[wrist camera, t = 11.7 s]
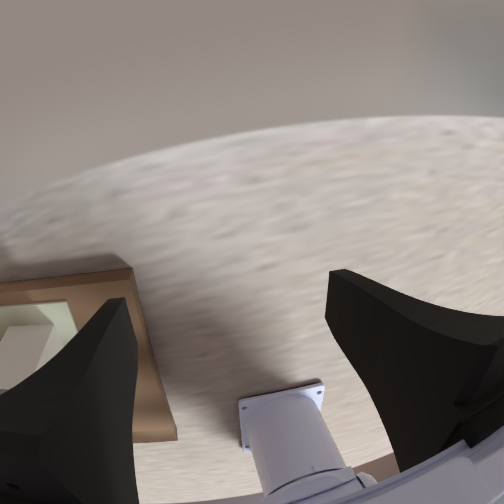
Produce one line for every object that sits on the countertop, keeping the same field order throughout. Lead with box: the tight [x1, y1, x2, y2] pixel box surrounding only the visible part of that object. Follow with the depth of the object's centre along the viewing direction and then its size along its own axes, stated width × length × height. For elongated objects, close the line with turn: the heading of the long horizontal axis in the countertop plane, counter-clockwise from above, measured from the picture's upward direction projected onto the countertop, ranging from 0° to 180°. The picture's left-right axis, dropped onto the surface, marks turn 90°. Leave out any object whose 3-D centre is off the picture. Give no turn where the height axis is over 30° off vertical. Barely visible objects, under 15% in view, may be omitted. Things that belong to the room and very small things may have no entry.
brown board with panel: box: [0, 268, 178, 443], centre depth 21 cm, size 17×16×2 cm
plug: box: [0, 324, 64, 395], centre depth 15 cm, size 4×4×7 cm
